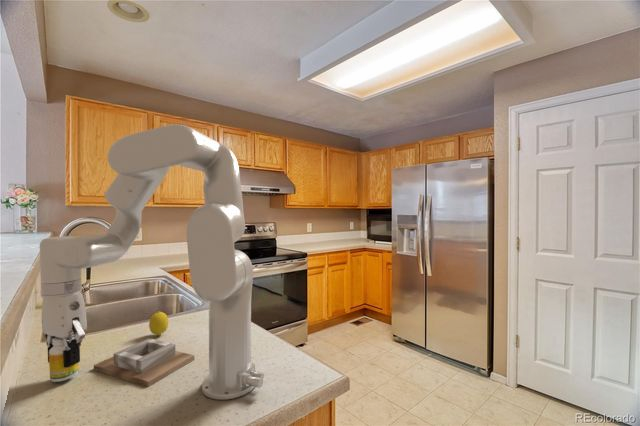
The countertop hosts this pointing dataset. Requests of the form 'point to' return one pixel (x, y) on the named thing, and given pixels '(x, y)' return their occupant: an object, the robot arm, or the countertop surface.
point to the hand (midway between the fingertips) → (64, 361)
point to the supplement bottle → (60, 362)
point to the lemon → (158, 323)
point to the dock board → (148, 374)
